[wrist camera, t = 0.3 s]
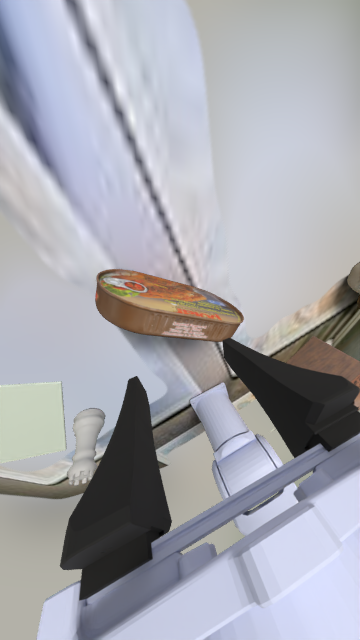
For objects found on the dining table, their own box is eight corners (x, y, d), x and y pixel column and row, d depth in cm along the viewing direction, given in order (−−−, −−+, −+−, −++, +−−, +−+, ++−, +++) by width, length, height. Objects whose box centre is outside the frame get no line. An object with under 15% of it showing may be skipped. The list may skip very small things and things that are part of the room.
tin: (219, 293, 23) (264, 322, 16) (210, 313, 24) (248, 348, 17) (102, 261, 16) (89, 287, 9) (97, 290, 17) (84, 332, 10)
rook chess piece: (88, 403, 24) (77, 468, 18) (111, 411, 27) (109, 470, 20) (67, 420, 25) (48, 490, 18) (92, 427, 27) (84, 490, 21)
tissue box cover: (267, 379, 40) (306, 419, 31) (312, 335, 36) (369, 366, 28) (301, 397, 53) (335, 428, 45) (337, 366, 50) (379, 393, 42)
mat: (61, 381, 21) (61, 383, 21) (66, 448, 28) (66, 450, 27) (-80, 390, 16) (-83, 392, 16) (-34, 468, 23) (-36, 470, 23)
